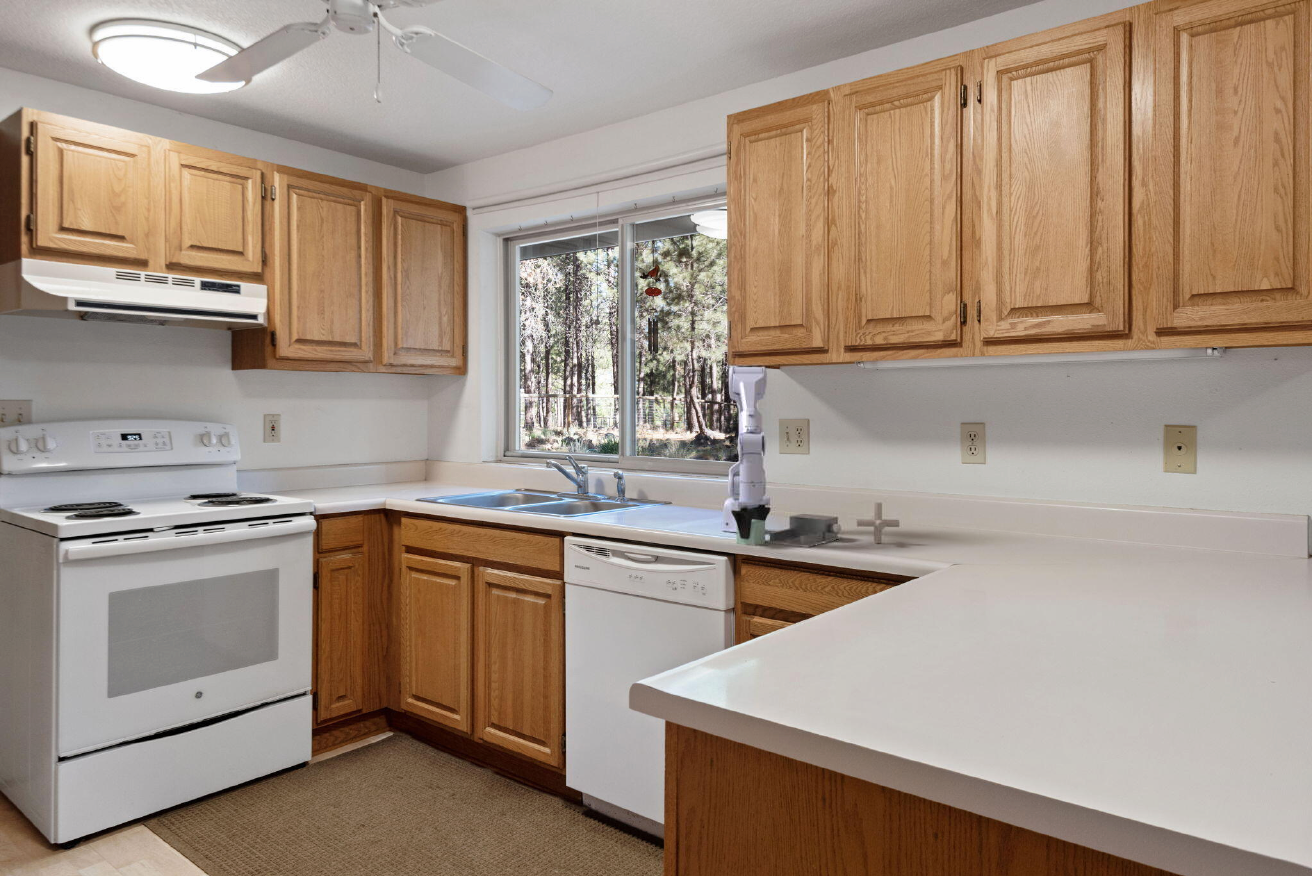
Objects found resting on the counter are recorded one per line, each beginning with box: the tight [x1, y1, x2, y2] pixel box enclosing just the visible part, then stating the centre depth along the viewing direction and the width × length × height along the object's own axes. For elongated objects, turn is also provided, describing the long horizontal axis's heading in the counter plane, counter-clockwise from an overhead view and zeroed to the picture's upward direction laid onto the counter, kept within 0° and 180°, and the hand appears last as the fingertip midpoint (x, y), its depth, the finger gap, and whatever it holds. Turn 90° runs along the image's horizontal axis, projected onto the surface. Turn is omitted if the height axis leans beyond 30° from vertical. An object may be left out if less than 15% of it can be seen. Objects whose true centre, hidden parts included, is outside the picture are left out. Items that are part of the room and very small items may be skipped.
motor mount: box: [765, 513, 843, 548], centre depth 207 cm, size 13×18×6 cm
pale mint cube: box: [736, 519, 766, 546], centre depth 203 cm, size 5×5×6 cm
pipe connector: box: [856, 501, 900, 544], centre depth 203 cm, size 10×10×10 cm
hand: (750, 537), depth 203 cm, fingers closed on pale mint cube, 5 cm apart
